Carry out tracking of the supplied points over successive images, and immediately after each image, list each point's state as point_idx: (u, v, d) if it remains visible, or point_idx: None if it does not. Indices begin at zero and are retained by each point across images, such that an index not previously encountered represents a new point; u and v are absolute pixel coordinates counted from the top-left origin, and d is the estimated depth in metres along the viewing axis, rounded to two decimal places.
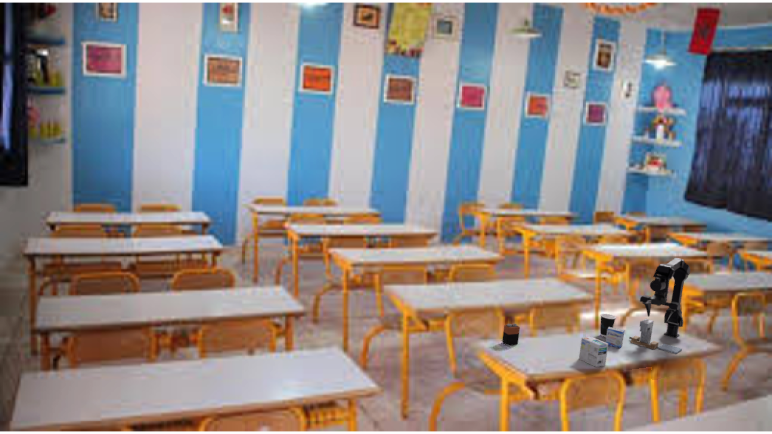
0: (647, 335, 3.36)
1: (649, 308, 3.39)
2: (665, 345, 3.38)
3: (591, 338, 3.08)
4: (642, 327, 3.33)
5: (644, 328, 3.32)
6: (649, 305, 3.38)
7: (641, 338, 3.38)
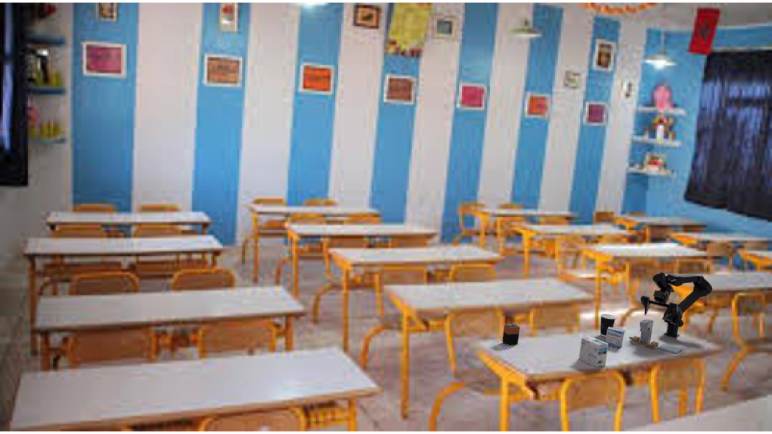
0: (647, 335, 3.36)
1: (647, 308, 3.48)
2: (665, 345, 3.38)
3: (591, 338, 3.08)
4: (642, 327, 3.33)
5: (644, 328, 3.33)
6: (648, 305, 3.48)
7: (641, 338, 3.38)
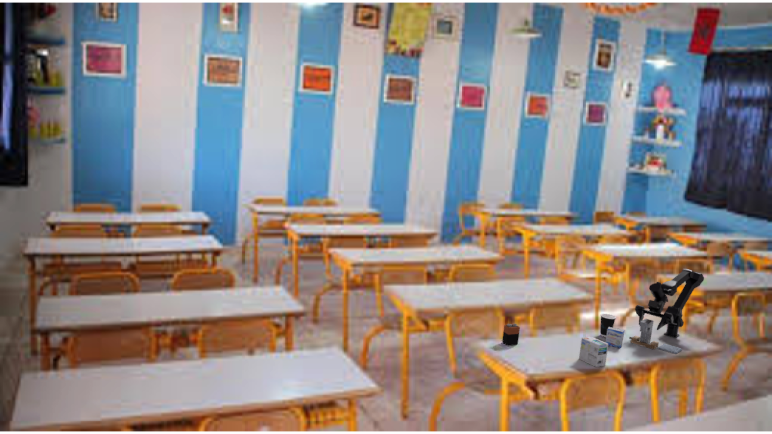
0: (647, 335, 3.36)
1: (641, 318, 3.44)
2: (665, 345, 3.38)
3: (591, 338, 3.08)
4: (642, 327, 3.33)
5: (644, 328, 3.32)
6: (642, 315, 3.44)
7: (641, 338, 3.38)
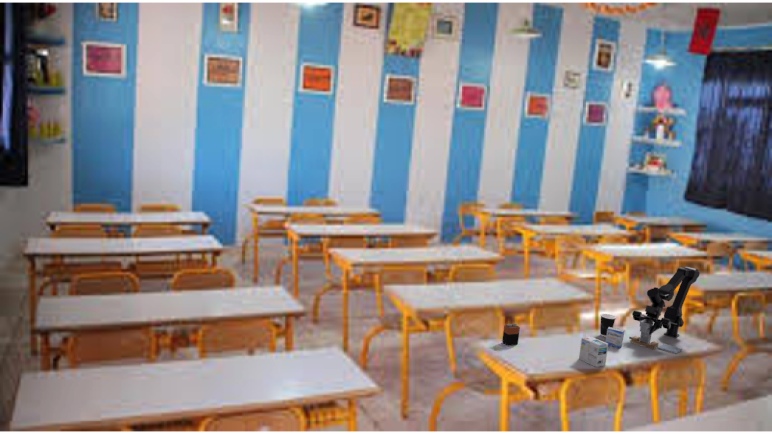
0: (647, 335, 3.36)
1: None
2: (665, 345, 3.38)
3: (591, 338, 3.08)
4: (642, 327, 3.33)
5: (644, 328, 3.33)
6: None
7: (641, 338, 3.38)
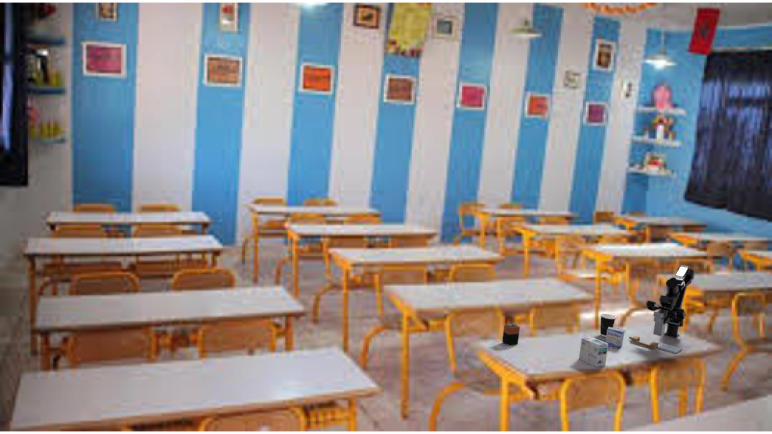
0: (661, 325, 3.33)
1: None
2: (665, 345, 3.38)
3: (591, 338, 3.08)
4: (656, 316, 3.30)
5: (658, 318, 3.30)
6: None
7: (655, 327, 3.35)
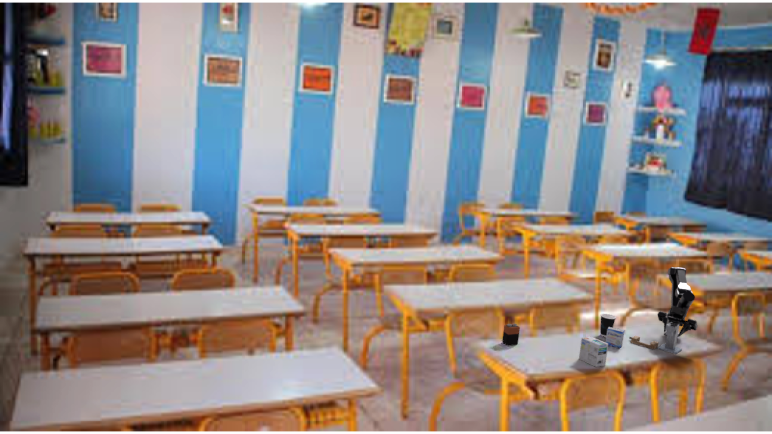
0: (673, 338, 3.31)
1: None
2: None
3: (591, 338, 3.08)
4: (668, 330, 3.29)
5: (670, 331, 3.28)
6: (667, 322, 3.37)
7: (667, 341, 3.33)
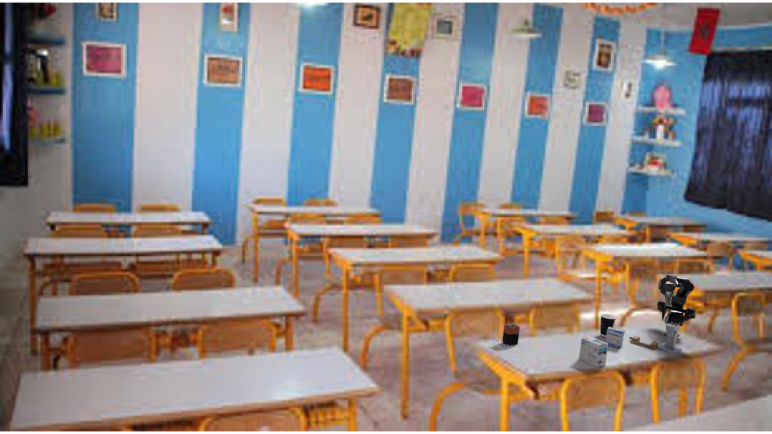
0: (673, 338, 3.31)
1: (664, 313, 3.46)
2: None
3: (591, 338, 3.08)
4: (668, 330, 3.29)
5: (670, 331, 3.28)
6: (664, 311, 3.47)
7: (667, 341, 3.33)
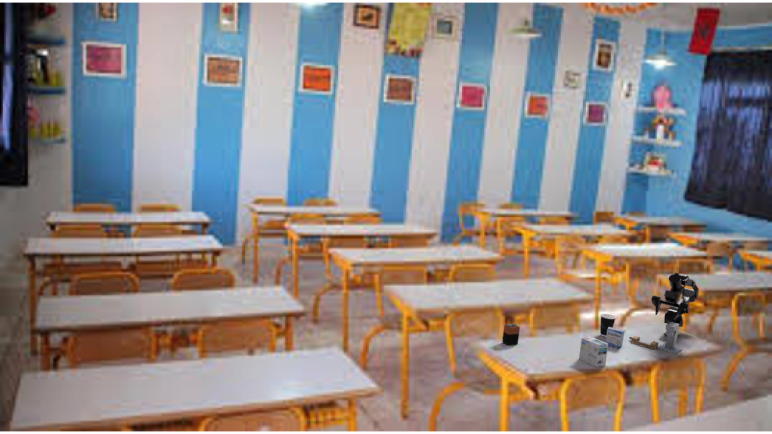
0: (673, 338, 3.31)
1: (658, 308, 3.49)
2: None
3: (591, 338, 3.08)
4: (668, 330, 3.29)
5: (670, 331, 3.28)
6: (658, 305, 3.49)
7: (667, 341, 3.33)
